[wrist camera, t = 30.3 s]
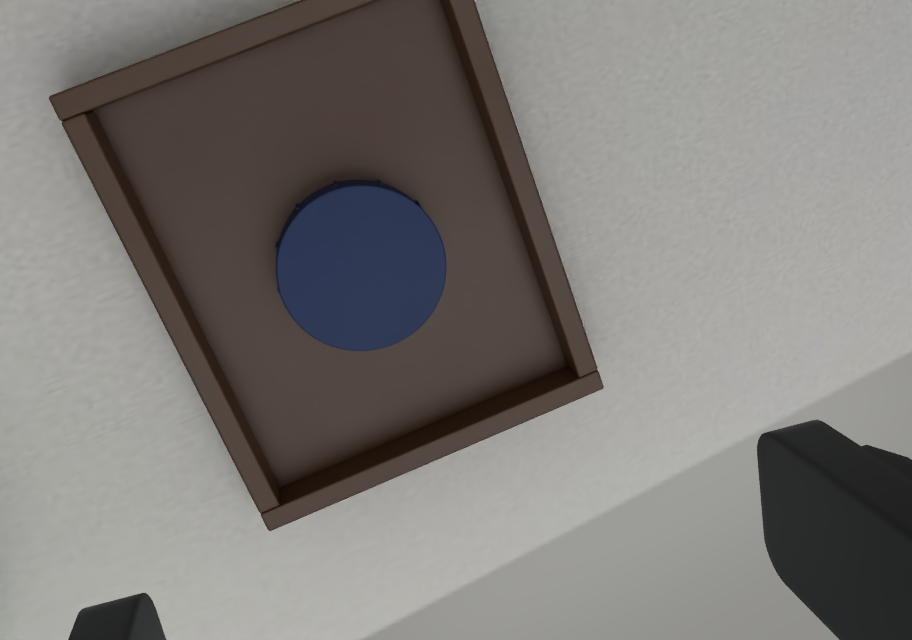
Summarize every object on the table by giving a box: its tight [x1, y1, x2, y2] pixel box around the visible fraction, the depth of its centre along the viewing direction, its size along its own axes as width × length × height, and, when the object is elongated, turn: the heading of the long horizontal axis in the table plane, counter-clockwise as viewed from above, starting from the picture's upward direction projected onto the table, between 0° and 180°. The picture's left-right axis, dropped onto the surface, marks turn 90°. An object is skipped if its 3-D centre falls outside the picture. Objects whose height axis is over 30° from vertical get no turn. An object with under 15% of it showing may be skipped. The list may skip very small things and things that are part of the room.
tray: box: [49, 0, 603, 531], centre depth 31 cm, size 17×14×2 cm
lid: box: [275, 179, 447, 351], centre depth 31 cm, size 6×6×2 cm
